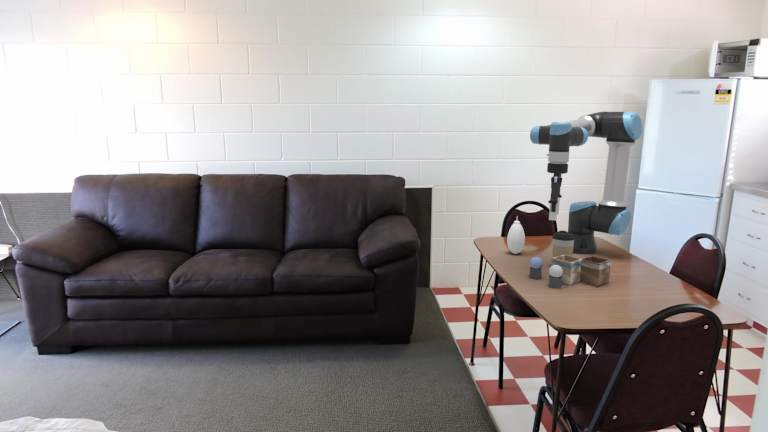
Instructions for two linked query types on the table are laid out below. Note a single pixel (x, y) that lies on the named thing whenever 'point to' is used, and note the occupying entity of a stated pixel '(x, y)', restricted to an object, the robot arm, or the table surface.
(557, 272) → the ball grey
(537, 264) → the ball blue
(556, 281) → the stand grey
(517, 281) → the table surface
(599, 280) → the brown open container
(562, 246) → the coffee cup
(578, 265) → the open beige box
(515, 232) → the sauce bottle
